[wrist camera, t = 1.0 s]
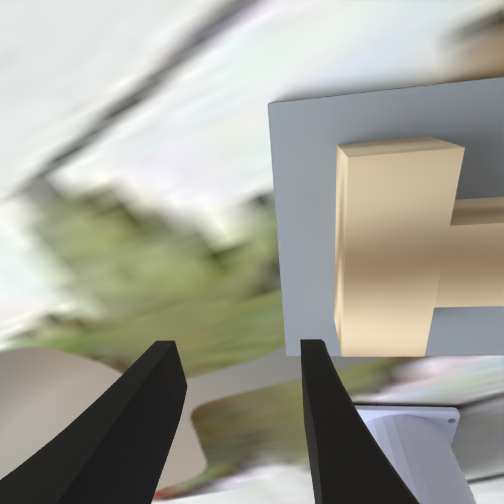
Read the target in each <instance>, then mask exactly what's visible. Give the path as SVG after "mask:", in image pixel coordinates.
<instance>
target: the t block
mask: <svg viewBox="0 0 504 504" xmlns="http://www.w3.org/2000/svg"><path fill="white" fill-rule="evenodd" d="M464 149H465V147H462V146H459V145H456V144H453V143H449V142H446V141H443V140H440V139H437V138H434V137H431V136H429V137H418V138H407V139H397V140H386V141H375V142H364V143H353V144H342V145H337V168H336V230H335V292H334V321H335V326H336V331H337V336H338V341H339V345H340V350H341V355H342V357H346V356H347V357H350V356H351V357H353V356H354V357H355V356H356V357H358V356H360V357H362V356H363V357H364V356H425V352H426V347H427V341H428V336H429V331H430V326H431V321H432V315H433V310H434V308H436V307H481V306H504V197H491V198H475V199H460V200H455V196H456V191H457V186H458V181H459V175H460V170H461V165H462V160H463V155H464Z"/></svg>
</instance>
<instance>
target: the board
mask: <svg viewBox="0 0 504 504" xmlns="http://www.w3.org/2000/svg"><path fill="white" fill-rule="evenodd" d="M268 115H269V128H270V142H271V155H272V169H273V182H274V195H275V209H276V222H277V235H278V249H279V262H280V276H281V289H282V302H283V316H284V329H285V343H286V355H287V356H301V346H300V339H322V340H323V341H324V342H325V345H326V348H327V351H328V353H329V356H342V355H341V350H340V345H339V341H338V336H337V331H336V326H335V321H334V292H335V230H336V168H337V145H342V144H353V143H364V142H375V141H386V140H397V139H407V138H418V137H429V136H431V137H434V138H437V139H440V140H443V141H446V142H449V143H453V144H456V145H459V146H462V147H465V149H464V155H463V160H462V165H461V170H460V175H459V181H458V186H457V191H456V196H455V200H460V199H475V198H491V197H504V77H496V78H487V79H478V80H469V81H460V82H452V83H443V84H434V85H425V86H416V87H407V88H398V89H390V90H381V91H372V92H363V93H354V94H345V95H337V96H328V97H319V98H310V99H301V100H292V101H283V102H275V103H269V104H268ZM486 355H504V306H481V307H436V308H434V310H433V315H432V321H431V326H430V331H429V336H428V341H427V347H426V352H425V356H486Z"/></svg>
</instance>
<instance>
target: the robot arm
mask: <svg viewBox="0 0 504 504" xmlns="http://www.w3.org/2000/svg"><path fill="white" fill-rule="evenodd" d="M300 346H301V366H302V388H303V408H304V424H305V432H306V439H307V447H308V454H309V461H310V468H311V476H312V483H313V490H314V498H315V504H477V503H476V501H475V498H474V496H473V494H472V492H471V490H470V487H469V485H468V483H467V481H466V479H465V477H464V474H463V472H462V470H461V468H460V466H459V463H458V461H457V459H456V457H455V455H454V453H453V450H452V448H451V446H452V443H453V439H454V436H455V433H456V429H457V426H458V422H459V419H460V413H459V411H458V409H456V408H453V407H408V406H354V404H353V402H352V400H351V399H350V397H349V395H348V393H347V391H346V390H345V388H344V386H343V384H342V382H341V380H340V378H339V376H338V374H337V372H336V370H335V368H334V365H333V363H332V361H331V358H330V356H329V353H328V351H327V348H326V345H325V342H324V341H323V340H322V339H300ZM186 391H187V383H186V379H185V375H184V372H183V368H182V365H181V361H180V358H179V354H178V351H177V347H176V344H175V341H156V342H155V343H154V344H153V345H152V346H150V347H149V348H148V349H147V350H146V351H145V352H144V354H143V355H142V356H141V357H140V358H139V359H138V360H137V361H136V362H135V363H134V364H133V365H132V366H131V367H130V368H129V369H128V370H127V371H126V372H125V373H124V374H123V375H122V376H121V377H120V378H119V379H118V380H117V381H116V382H115V383H114V384H113V385H112V386H111V387H110V388H109V389H107V391H105V392H104V394H102V395H101V396H100V397H99V398H98V399H97V400H96V401H95V402H94V403H93V404H92V405H91V406H89V407H88V408H87V409H86V410H85V411H84V412H83V413H82V414H81V415H80V416H78V417H77V418H76V419H75V420H74V421H73V422H72V423H71V424H70V425H69V426H68V427H66V428H65V429H64V430H63V431H62V432H61V433H59V434H58V435H57V436H56V437H55V438H53V439H52V440H51V441H50V442H49V443H47V444H46V445H45V446H44V447H42V448H41V449H40V450H39V451H38V452H36V453H35V454H34V455H33V456H31V457H30V458H29V459H28V460H26V461H25V462H24V463H23V464H22V465H20V466H19V467H17V468H16V469H15V470H13V471H12V472H11V473H9V474H8V475H6V476H5V477H4V478H2V479H1V480H0V504H151V502H152V499H153V496H154V493H155V490H156V487H157V484H158V481H159V479H160V476H161V473H162V470H163V467H164V464H165V462H166V459H167V456H168V453H169V450H170V447H171V444H172V442H173V439H174V436H175V433H176V430H177V427H178V424H179V421H180V417H181V413H182V409H183V405H184V400H185V395H186Z"/></svg>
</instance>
